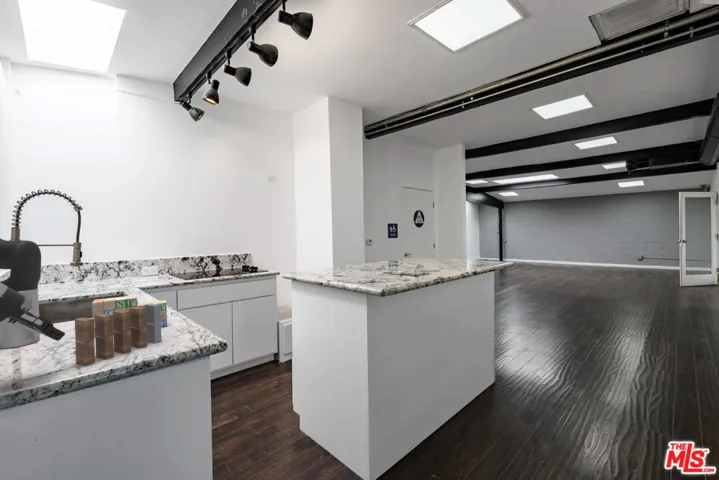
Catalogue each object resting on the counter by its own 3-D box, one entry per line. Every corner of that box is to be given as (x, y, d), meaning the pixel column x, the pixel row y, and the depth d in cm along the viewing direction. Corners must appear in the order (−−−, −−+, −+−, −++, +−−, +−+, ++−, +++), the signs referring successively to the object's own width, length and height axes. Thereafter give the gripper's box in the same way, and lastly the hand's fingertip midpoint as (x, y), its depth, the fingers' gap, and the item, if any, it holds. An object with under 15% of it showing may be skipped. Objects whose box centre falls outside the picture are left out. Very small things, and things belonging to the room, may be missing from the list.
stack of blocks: (166, 323, 121) (165, 292, 121) (167, 327, 116) (166, 294, 116) (95, 333, 109) (94, 299, 109) (92, 338, 104) (91, 302, 104)
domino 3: (123, 353, 90) (122, 312, 90) (113, 351, 92) (112, 311, 92) (131, 351, 92) (130, 311, 92) (121, 348, 94) (120, 309, 94)
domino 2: (105, 359, 86) (104, 316, 86) (95, 356, 88) (94, 315, 88) (114, 356, 88) (112, 315, 88) (104, 354, 90) (102, 313, 90)
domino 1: (85, 366, 82) (84, 321, 82) (76, 362, 84) (74, 319, 84) (95, 363, 84) (93, 319, 84) (85, 360, 86) (83, 317, 86)
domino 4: (140, 348, 94) (138, 309, 94) (130, 346, 96) (129, 307, 96) (147, 346, 96) (146, 307, 96) (137, 343, 98) (136, 306, 98)
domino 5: (155, 343, 98) (154, 306, 98) (145, 341, 100) (144, 304, 100) (161, 341, 100) (160, 304, 100) (151, 339, 102) (150, 303, 102)
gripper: (-43, 310, 68) (35, 347, 80) (-20, 316, 63) (60, 355, 74) (-8, 283, 73) (61, 321, 84) (17, 286, 68) (87, 326, 79)
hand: (60, 337), depth 79 cm, fingers closed
